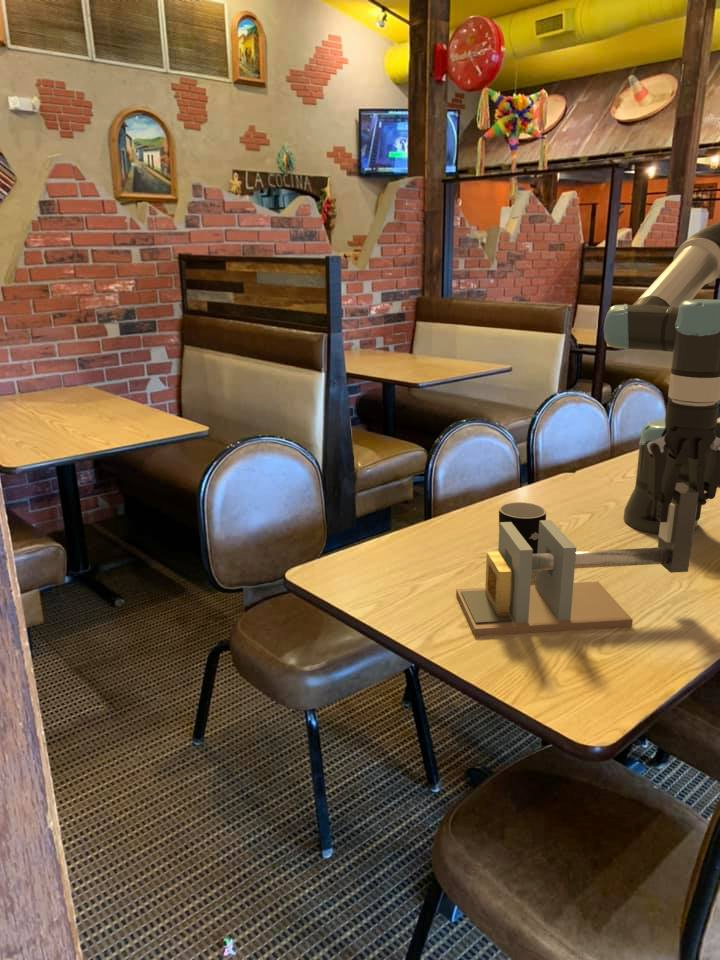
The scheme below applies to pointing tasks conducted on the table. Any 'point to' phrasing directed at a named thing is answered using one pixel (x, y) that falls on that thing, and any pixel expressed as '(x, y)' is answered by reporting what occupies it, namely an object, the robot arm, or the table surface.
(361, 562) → the table surface
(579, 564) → the shaft
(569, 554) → the bearing block
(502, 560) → the ring
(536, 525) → the mug
